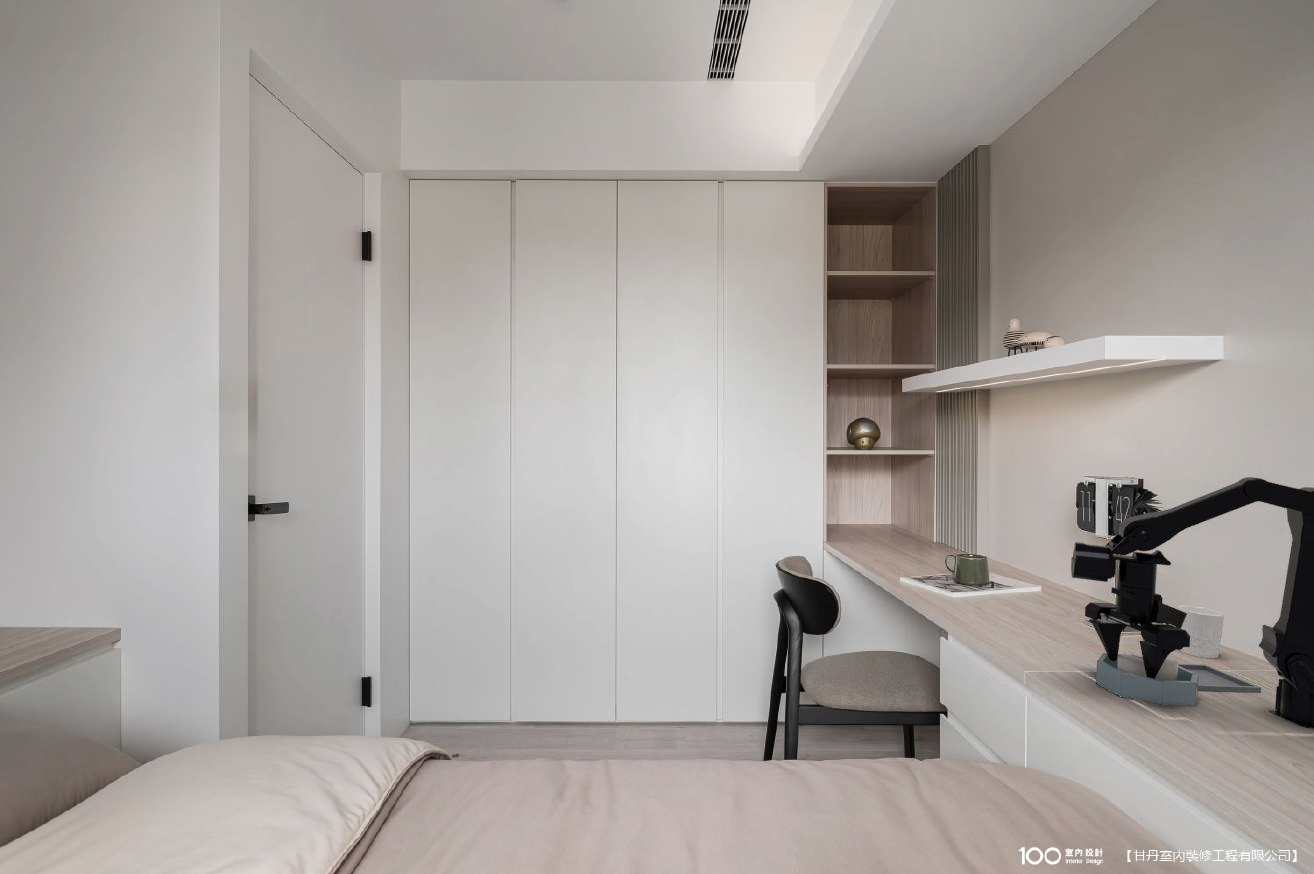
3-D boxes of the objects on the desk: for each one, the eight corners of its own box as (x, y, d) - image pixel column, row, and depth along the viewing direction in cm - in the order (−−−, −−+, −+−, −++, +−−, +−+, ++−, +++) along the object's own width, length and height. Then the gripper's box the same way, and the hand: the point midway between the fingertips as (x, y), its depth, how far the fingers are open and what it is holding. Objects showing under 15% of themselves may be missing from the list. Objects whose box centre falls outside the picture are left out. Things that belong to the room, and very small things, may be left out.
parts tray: (1260, 695, 124) (1261, 687, 124) (1194, 693, 124) (1194, 685, 124) (1204, 671, 136) (1205, 664, 136) (1143, 669, 136) (1144, 662, 136)
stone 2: (1128, 689, 121) (1129, 662, 121) (1110, 680, 126) (1112, 654, 126) (1151, 690, 121) (1153, 663, 121) (1133, 681, 126) (1134, 654, 126)
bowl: (1218, 709, 117) (1220, 683, 117) (1137, 706, 116) (1139, 681, 116) (1152, 677, 131) (1153, 654, 131) (1080, 675, 131) (1081, 652, 131)
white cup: (1229, 663, 143) (1232, 617, 142) (1188, 659, 144) (1190, 613, 144) (1207, 651, 150) (1210, 607, 150) (1167, 647, 152) (1170, 604, 152)
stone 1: (1160, 690, 122) (1161, 663, 121) (1141, 681, 126) (1142, 655, 126) (1183, 691, 122) (1184, 664, 122) (1163, 682, 126) (1164, 655, 126)
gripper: (1223, 600, 114) (1217, 690, 115) (1139, 575, 133) (1134, 653, 133) (1160, 598, 114) (1155, 689, 114) (1085, 573, 132) (1080, 651, 133)
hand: (1131, 669), depth 124 cm, fingers open, 9 cm apart
